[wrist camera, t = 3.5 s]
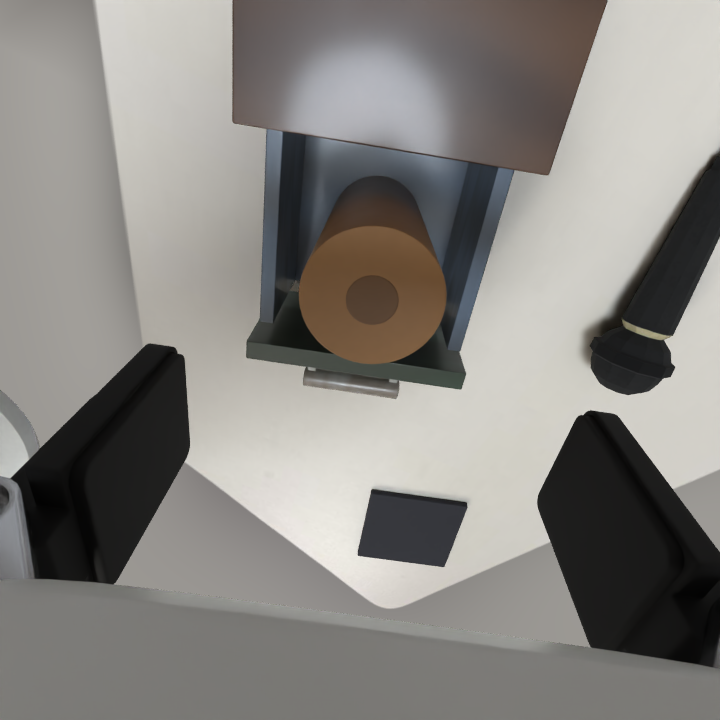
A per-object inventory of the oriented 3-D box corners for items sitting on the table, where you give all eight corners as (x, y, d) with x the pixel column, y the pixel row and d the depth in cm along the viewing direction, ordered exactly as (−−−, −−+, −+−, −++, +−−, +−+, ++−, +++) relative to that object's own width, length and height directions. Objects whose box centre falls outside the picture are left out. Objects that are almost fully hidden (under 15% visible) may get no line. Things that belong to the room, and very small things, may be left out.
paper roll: (327, 258, 31) (293, 353, 19) (337, 168, 28) (304, 213, 16) (410, 271, 32) (428, 374, 19) (428, 183, 29) (463, 239, 16)
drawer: (431, 372, 37) (445, 441, 29) (273, 349, 37) (245, 413, 29) (509, 86, 27) (560, 77, 19) (290, 48, 26) (252, 24, 19)
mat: (357, 551, 50) (357, 556, 50) (371, 489, 45) (371, 493, 45) (443, 562, 51) (444, 567, 50) (466, 502, 46) (467, 507, 45)
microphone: (696, 106, 30) (573, 366, 38) (734, 84, 25) (583, 390, 32) (786, 124, 29) (640, 388, 37) (846, 104, 24) (661, 417, 31)
